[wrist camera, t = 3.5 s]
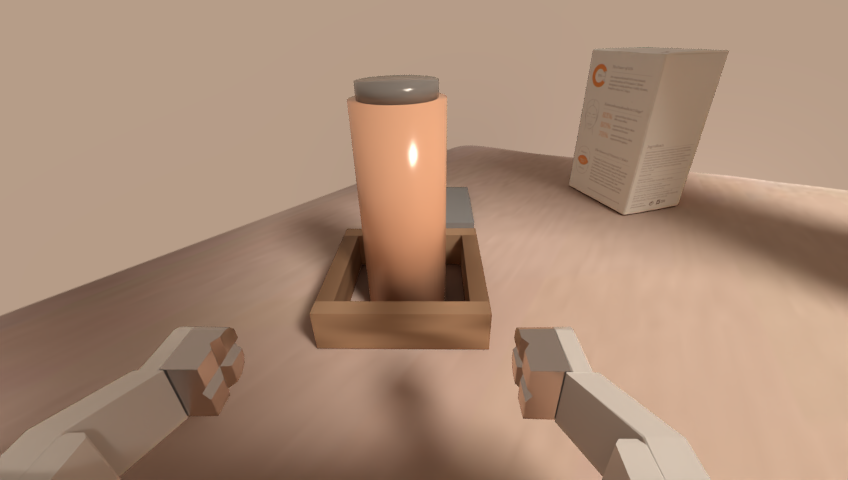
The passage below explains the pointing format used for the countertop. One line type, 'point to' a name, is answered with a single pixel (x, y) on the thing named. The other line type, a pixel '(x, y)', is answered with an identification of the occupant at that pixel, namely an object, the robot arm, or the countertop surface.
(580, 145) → the small box
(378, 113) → the jar
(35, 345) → the countertop surface
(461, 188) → the mat
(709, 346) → the countertop surface
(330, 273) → the brown wooden square tray
